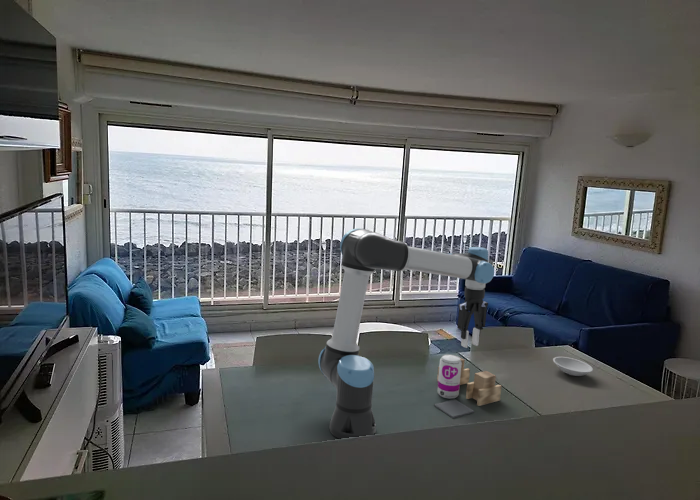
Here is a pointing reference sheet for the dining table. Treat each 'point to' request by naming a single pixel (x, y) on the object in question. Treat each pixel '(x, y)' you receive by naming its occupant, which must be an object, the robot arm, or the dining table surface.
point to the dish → (572, 366)
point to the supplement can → (449, 376)
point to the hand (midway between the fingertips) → (469, 345)
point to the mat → (454, 408)
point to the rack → (480, 386)
